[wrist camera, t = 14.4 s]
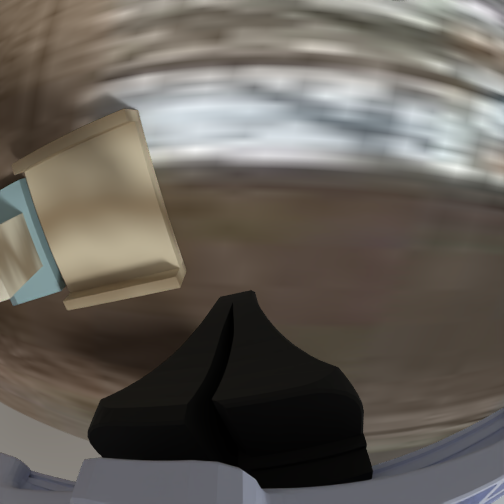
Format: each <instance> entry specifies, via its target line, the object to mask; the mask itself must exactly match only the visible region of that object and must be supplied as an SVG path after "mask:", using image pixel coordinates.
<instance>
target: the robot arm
mask: <svg viewBox="0 0 504 504" xmlns="http://www.w3.org/2000/svg"><path fill="white" fill-rule="evenodd" d="M363 417H364V410H363V405H362V402H361V400H360V398H359V396H358V394H357V392H356V390H355V389H354V387H353V386H352V384H351V383H350V381H349V380H348V379H347V377H346V376H345V375H344V374H343V372H342V371H341V370H340V369H339V368H338V367H336V366H333V365H331V364H328V363H325V362H323V361H320V360H318V359H316V358H314V357H312V356H310V355H309V354H307V353H306V352H304V351H303V350H301V349H300V348H298V347H296V346H295V345H294V344H292V343H291V342H290V341H289V340H287V339H286V338H285V337H284V336H283V335H282V334H281V333H280V332H279V331H278V330H277V329H276V328H275V327H274V326H273V325H272V323H271V322H270V321H269V320H268V318H267V317H266V316H265V314H264V313H263V311H262V310H261V308H260V306H259V305H258V302H257V298H256V294H255V292H253V291H252V290H250V291H246V292H241V293H236V294H232V295H227V296H222V297H220V298H219V299H218V300H217V302H216V303H215V305H214V306H213V308H212V309H211V310H210V312H209V313H208V315H207V316H206V317H205V319H204V320H203V321H202V323H201V324H200V325H199V327H198V328H197V329H196V330H195V331H194V332H193V334H192V335H191V336H190V337H189V338H188V340H187V341H186V342H185V343H184V344H183V345H182V346H181V347H180V348H179V349H178V350H177V351H176V352H175V353H174V354H173V355H172V356H170V357H169V358H168V359H167V360H166V361H164V362H163V363H162V364H161V365H159V366H158V367H157V368H156V369H154V370H153V371H152V372H150V373H149V374H147V375H146V376H144V377H143V378H141V379H140V380H138V381H136V382H135V383H133V384H131V385H130V386H128V387H126V388H124V389H122V390H120V391H118V392H116V393H114V394H112V395H110V396H108V397H106V398H103V399H101V400H100V403H99V405H98V407H97V410H96V412H95V414H94V417H93V419H92V422H91V424H90V427H89V429H88V439H89V441H90V443H91V445H92V446H93V447H94V449H95V450H96V451H97V452H98V453H99V454H100V455H101V456H102V457H103V458H90V459H85V460H84V461H83V463H82V466H81V469H80V472H79V475H78V477H77V480H76V482H75V481H70V480H66V479H61V478H57V477H53V476H49V475H45V474H42V473H38V472H35V471H31V470H30V468H29V467H28V466H27V465H25V464H24V463H23V462H22V461H21V460H19V459H18V458H16V457H13V456H10V455H7V454H4V453H0V504H491V503H493V502H494V501H496V500H498V499H499V498H500V497H502V496H503V495H504V407H503V408H502V409H500V410H498V411H497V412H495V413H493V414H491V415H490V416H488V417H486V418H484V419H483V420H481V421H479V422H477V423H475V424H473V425H471V426H469V427H467V428H466V429H464V430H462V431H460V432H457V433H455V434H453V435H451V436H449V437H447V438H445V439H443V440H440V441H438V442H436V443H434V444H431V445H429V446H426V447H424V448H422V449H419V450H417V451H414V452H411V453H409V454H406V455H404V456H401V457H398V458H395V459H392V460H389V461H386V462H383V463H380V464H377V465H374V466H371V462H370V459H369V456H368V453H367V450H366V447H367V444H366V440H365V437H364V434H363Z"/></svg>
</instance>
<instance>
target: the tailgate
mask: <svg viewBox="0 0 504 504" xmlns="http://www.w3.org/2000/svg"><path fill="white" fill-rule="evenodd" d="M21 213H23V215H24V218H25V221H26V224H27V227H28V229H29V232H30V235H31V238H32V240H33V243H34V245H35V248H36V250H37V253H38V255H39V258H40V260H41V262H42V265H43V266H42V267H41V268H40V269H39V270H38V271H37V272H36V273H35V274H34V275H33V276H32V277H31V278H30V279H29V280H28V281H27V282H26V283H25V284H24V285H23V286H22V287H21V288H20V289H19V290H18V291H17V292H16V293H15V294H14V295H13V296H12V297H11V298H10V300H11V302H12V304H13V306H15V305H18V304H21V303H24V302H27V301H30V300H34V299H37V298H40V297H43V296H46V295H50V294H53V293H56V292H59V291H62V289H63V288H64V287H65V286H66V285H65V283H64V281H63V278H62V276H61V274H60V272H59V270H58V267H57V265H56V263H55V260H54V258H53V255H52V253H51V251H50V248H49V246H48V243H47V241H46V238H45V235H44V233H43V230H42V227H41V225H40V222H39V219H38V216H37V213H36V210H35V207H34V204H33V201H32V198H31V195H30V192H29V189H28V185H27V182H26V178H23V179H20V180H17V181H16V182H14V183H12V184H10V185H8V186H7V187H5V188H3V189H1V190H0V224H1V223H3V222H5V221H7V220H9V219H11V218H13V217H15V216H17V215H19V214H21Z"/></svg>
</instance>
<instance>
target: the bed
mask: <svg viewBox="0 0 504 504" xmlns="http://www.w3.org/2000/svg"><path fill="white" fill-rule="evenodd" d="M12 169H13V173H14V175H17V174H20V173H23V172H25V175H26V179H27V182H28V186H29V189H30V192H31V195H32V199H33V202H34V205H35V208H36V211H37V214H38V216H39V219H40V222H41V225H42V228H43V230H44V233H45V236H46V238H47V241H48V243H49V246H50V248H51V251H52V253H53V256H54V258H55V260H56V263H57V265H58V267H59V270H60V272H61V274H62V277H63V279H64V281H65V283H66V285H67V287H68V290H69V292H70V294H69V295H68V296H67V297H66V298H65V300H64V301H63V303H64V305H65V307H66V309H67V310H72V309H78V308H83V307H88V306H93V305H98V304H103V303H108V302H113V301H118V300H123V299H128V298H133V297H137V296H142V295H147V294H152V293H157V292H161V291H166V290H171V289H176V288H180V287H181V284H182V281H183V279H184V276H185V273H186V268H185V265H184V262H183V259H182V256H181V253H180V250H179V247H178V244H177V241H176V238H175V235H174V232H173V229H172V226H171V223H170V220H169V217H168V214H167V211H166V208H165V204H164V201H163V198H162V195H161V191H160V188H159V185H158V181H157V178H156V175H155V171H154V168H153V164H152V161H151V157H150V154H149V150H148V146H147V143H146V139H145V135H144V132H143V128H142V124H141V120H140V116H139V113H138V110H131V109H122V110H119V111H117V112H114V113H112V114H110V115H107V116H105V117H103V118H100V119H98V120H96V121H94V122H91V123H89V124H87V125H85V126H83V127H80V128H78V129H76V130H74V131H72V132H70V133H68V134H66V135H64V136H62V137H60V138H58V139H56V140H54V141H52V142H50V143H49V144H47V145H45V146H43V147H41V148H39V149H37V150H36V151H34V152H32V153H30V154H29V155H27V156H25V157H24V158H22V159H20V160H18V161H17V162H15V163H13V164H12Z"/></svg>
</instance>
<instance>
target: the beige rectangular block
mask: <svg viewBox="0 0 504 504" xmlns="http://www.w3.org/2000/svg"><path fill="white" fill-rule="evenodd" d="M42 266H43V265H42V262H41V260H40V258H39V255H38V253H37V250H36V248H35V245H34V243H33V240H32V238H31V235H30V232H29V229H28V227H27V224H26V221H25V218H24V215H23V213H21V214H19V215H17V216H15V217H13V218H11V219H9V220H7V221H5V222H3V223H1V224H0V302H1V301H4V300H7V299H10V298H11V297H12V296H13V295H14V294H15V293H16V292H17V291H18V290H19V289H20V288H21V287H22V286H23V285H24V284H25V283H26V282H27V281H28V280H29V279H30V278H31V277H32V276H33V275H34V274H35V273H36V272H37V271H38V270H39V269H40V268H41V267H42Z"/></svg>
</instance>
